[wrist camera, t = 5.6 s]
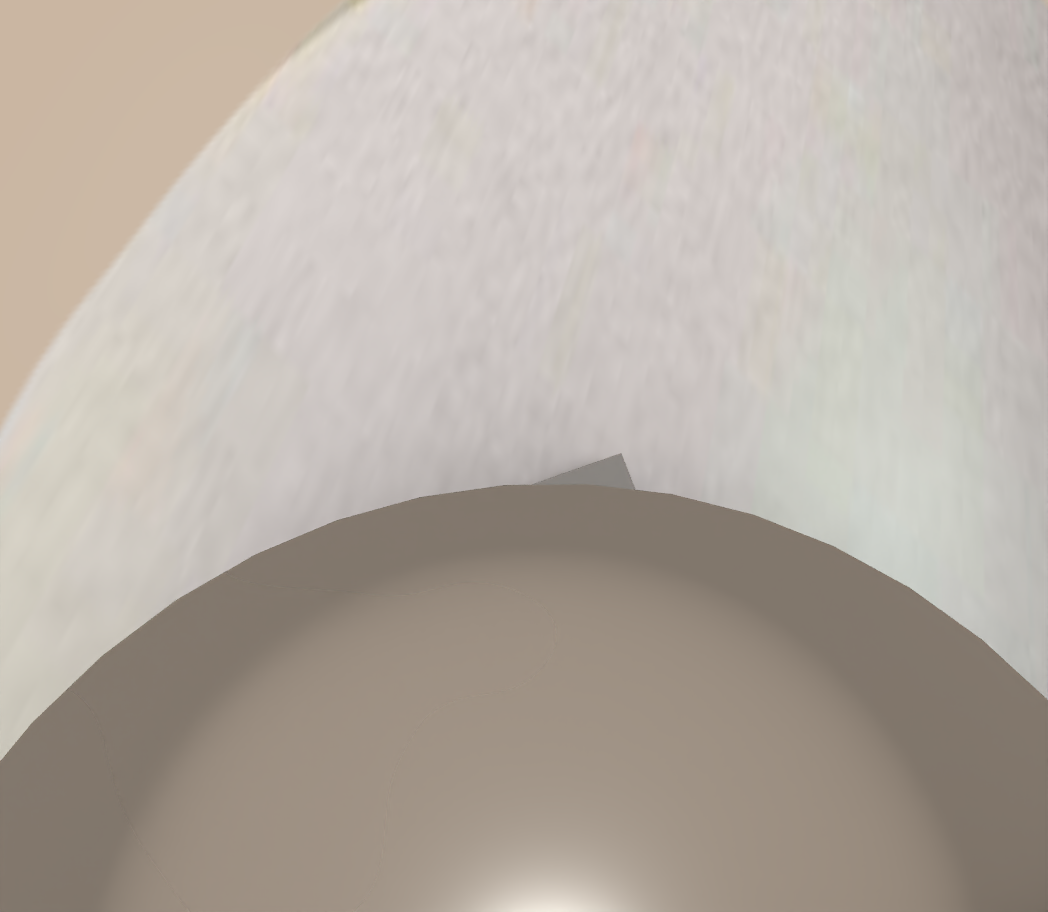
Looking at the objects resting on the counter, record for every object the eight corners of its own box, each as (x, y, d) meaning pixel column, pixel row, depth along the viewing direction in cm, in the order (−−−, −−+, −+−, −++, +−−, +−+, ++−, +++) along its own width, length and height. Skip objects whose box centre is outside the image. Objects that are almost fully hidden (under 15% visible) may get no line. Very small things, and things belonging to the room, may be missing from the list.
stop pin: (645, 741, 16) (1598, 1777, 2) (445, 818, 15) (-21, 2699, 2) (573, 542, 17) (923, 317, 3) (379, 611, 16) (-340, 756, 2)
